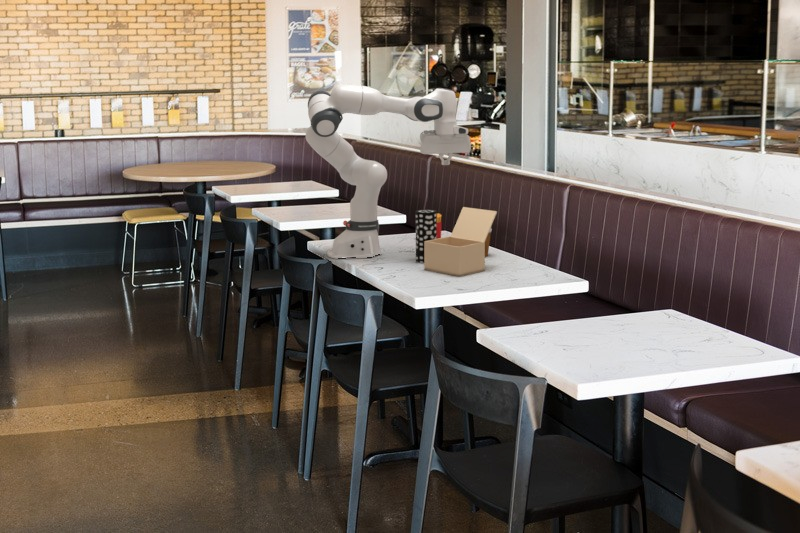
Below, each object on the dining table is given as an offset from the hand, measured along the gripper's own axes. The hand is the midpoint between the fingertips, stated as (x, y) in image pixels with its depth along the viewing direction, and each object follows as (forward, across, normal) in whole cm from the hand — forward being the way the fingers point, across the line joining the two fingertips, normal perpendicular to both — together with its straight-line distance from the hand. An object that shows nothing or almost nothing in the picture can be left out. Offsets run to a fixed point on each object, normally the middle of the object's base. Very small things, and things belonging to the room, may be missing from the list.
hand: (445, 164), depth 386 cm
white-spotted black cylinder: (+37, -10, -6) cm, 39 cm away
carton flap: (+21, +4, -21) cm, 30 cm away
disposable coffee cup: (+38, +14, -2) cm, 40 cm away
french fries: (+38, +5, +31) cm, 49 cm away
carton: (+37, -5, -26) cm, 46 cm away
